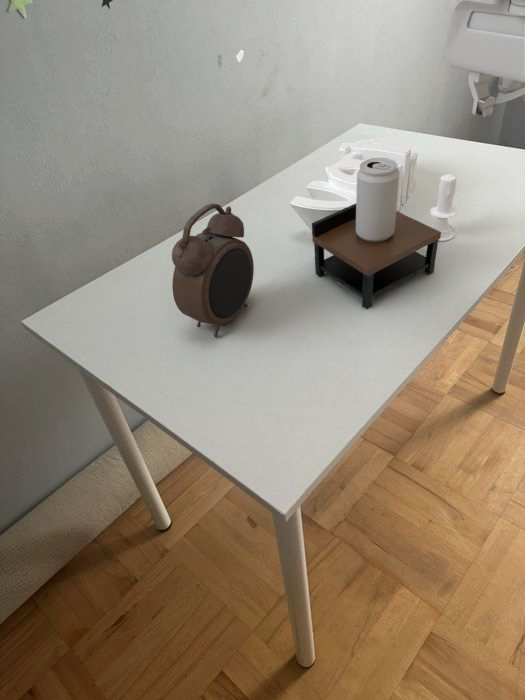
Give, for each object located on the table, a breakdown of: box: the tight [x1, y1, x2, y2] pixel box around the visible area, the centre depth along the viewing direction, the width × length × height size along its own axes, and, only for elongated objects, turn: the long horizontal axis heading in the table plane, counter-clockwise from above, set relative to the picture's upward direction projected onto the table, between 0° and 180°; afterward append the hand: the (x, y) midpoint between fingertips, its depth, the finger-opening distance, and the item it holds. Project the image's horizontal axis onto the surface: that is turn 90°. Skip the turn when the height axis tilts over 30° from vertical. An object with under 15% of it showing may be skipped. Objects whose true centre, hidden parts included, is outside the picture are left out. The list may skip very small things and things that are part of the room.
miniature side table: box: [311, 203, 441, 310], centre depth 87 cm, size 14×16×10 cm
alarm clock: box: [171, 202, 255, 338], centre depth 79 cm, size 15×7×20 cm, turn 147°
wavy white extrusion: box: [289, 138, 419, 232], centre depth 104 cm, size 35×16×11 cm, turn 146°
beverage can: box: [356, 158, 399, 242], centre depth 81 cm, size 6×6×12 cm
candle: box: [429, 173, 458, 242], centre depth 93 cm, size 5×5×12 cm
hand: (518, 125), depth 54 cm, fingers open, 8 cm apart
